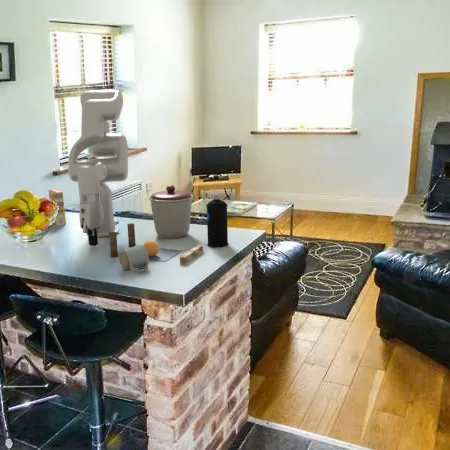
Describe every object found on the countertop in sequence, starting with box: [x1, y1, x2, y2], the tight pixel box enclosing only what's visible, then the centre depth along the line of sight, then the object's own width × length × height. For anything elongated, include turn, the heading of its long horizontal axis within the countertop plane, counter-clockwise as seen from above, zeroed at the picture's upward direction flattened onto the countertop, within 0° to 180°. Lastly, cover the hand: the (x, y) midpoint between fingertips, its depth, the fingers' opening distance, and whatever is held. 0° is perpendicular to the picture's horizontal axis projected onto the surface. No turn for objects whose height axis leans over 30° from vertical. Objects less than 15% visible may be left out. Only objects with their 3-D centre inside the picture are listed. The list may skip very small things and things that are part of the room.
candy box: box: [48, 188, 67, 227], centre depth 254 cm, size 9×4×15 cm, turn 33°
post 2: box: [127, 222, 137, 248], centre depth 215 cm, size 3×3×9 cm
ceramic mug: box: [118, 244, 150, 274], centre depth 188 cm, size 11×8×8 cm
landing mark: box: [149, 247, 183, 262], centre depth 205 cm, size 14×14×1 cm
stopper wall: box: [179, 244, 204, 265], centre depth 200 cm, size 16×2×2 cm, turn 160°
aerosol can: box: [205, 193, 229, 249], centre depth 213 cm, size 8×8×20 cm
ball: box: [142, 239, 160, 257], centre depth 202 cm, size 6×6×6 cm
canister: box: [148, 184, 194, 240], centre depth 228 cm, size 18×18×21 cm
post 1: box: [108, 232, 119, 258], centre depth 203 cm, size 3×3×9 cm
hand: (93, 244), depth 214 cm, fingers closed
